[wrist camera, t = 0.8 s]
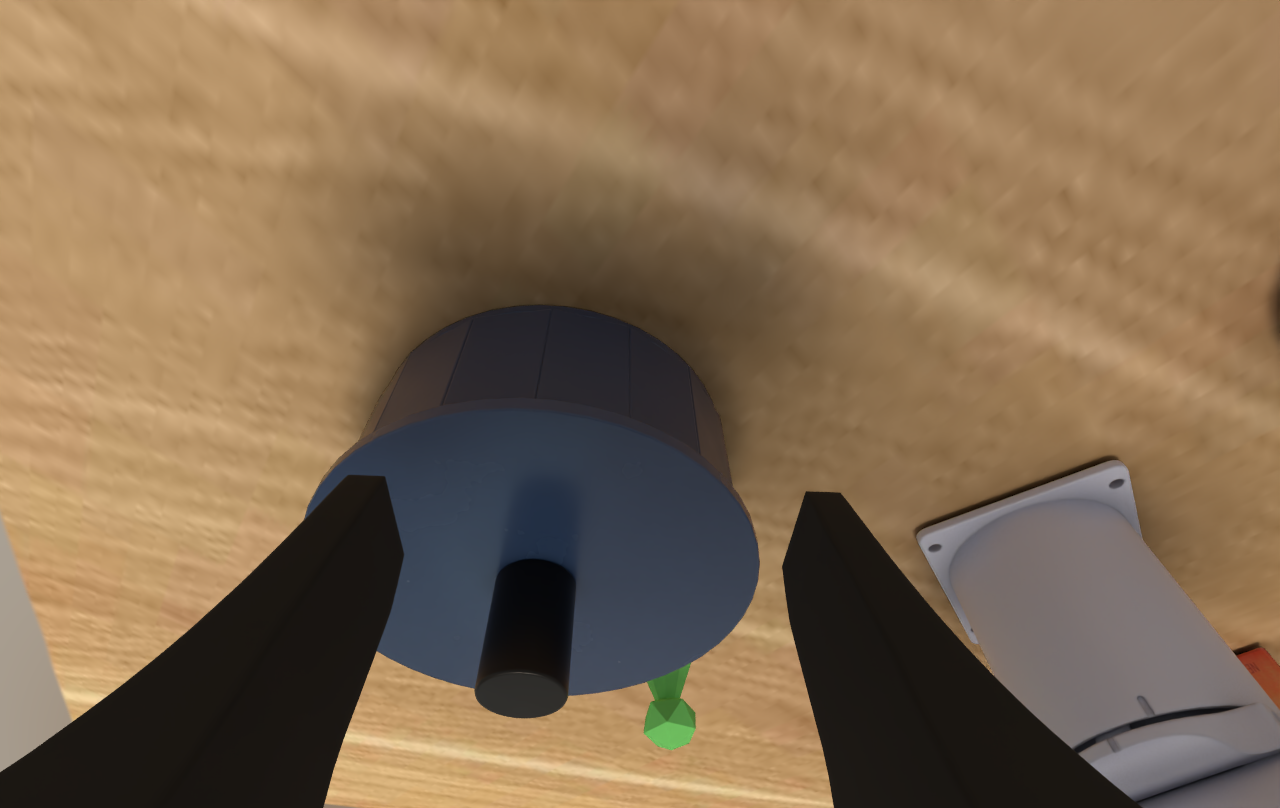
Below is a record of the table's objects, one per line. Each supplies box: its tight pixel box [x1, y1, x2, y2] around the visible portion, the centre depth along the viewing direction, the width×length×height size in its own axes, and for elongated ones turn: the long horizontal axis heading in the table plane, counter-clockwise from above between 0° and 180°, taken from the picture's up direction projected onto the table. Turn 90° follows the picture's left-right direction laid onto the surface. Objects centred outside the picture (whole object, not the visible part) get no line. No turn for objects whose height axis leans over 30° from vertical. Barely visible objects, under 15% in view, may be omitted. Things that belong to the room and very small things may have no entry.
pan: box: [359, 305, 733, 487], centre depth 22 cm, size 12×12×5 cm
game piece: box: [644, 663, 696, 750], centre depth 28 cm, size 4×4×6 cm
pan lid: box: [304, 397, 760, 718], centre depth 18 cm, size 13×13×5 cm
